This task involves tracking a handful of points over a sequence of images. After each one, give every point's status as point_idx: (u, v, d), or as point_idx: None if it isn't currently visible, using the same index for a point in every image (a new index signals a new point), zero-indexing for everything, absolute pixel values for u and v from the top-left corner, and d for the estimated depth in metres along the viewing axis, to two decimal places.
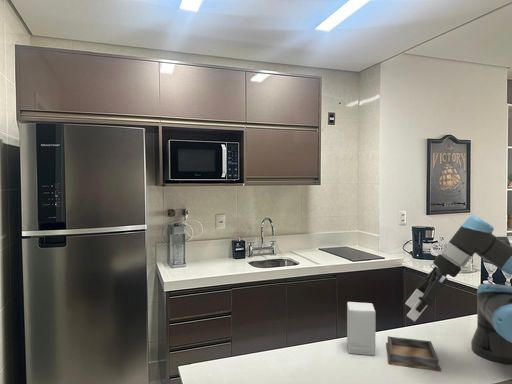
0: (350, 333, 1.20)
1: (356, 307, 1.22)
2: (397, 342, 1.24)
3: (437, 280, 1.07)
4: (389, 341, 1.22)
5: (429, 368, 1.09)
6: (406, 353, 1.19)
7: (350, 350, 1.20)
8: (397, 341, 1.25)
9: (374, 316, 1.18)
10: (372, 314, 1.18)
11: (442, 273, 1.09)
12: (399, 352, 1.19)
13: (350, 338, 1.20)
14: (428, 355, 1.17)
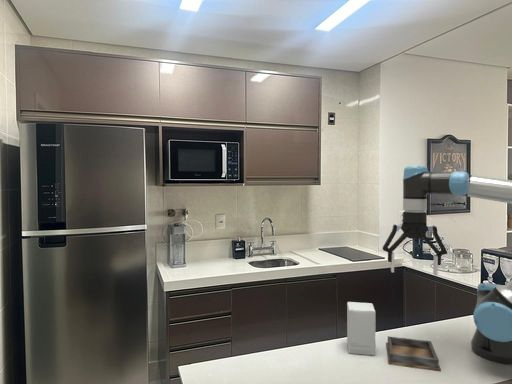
0: (350, 333, 1.20)
1: (356, 307, 1.22)
2: (397, 342, 1.24)
3: (392, 230, 1.25)
4: (389, 341, 1.22)
5: (429, 368, 1.09)
6: (406, 353, 1.19)
7: (350, 350, 1.20)
8: (397, 341, 1.25)
9: (374, 316, 1.18)
10: (372, 314, 1.18)
11: (402, 224, 1.23)
12: (399, 352, 1.19)
13: (350, 338, 1.20)
14: (428, 355, 1.17)
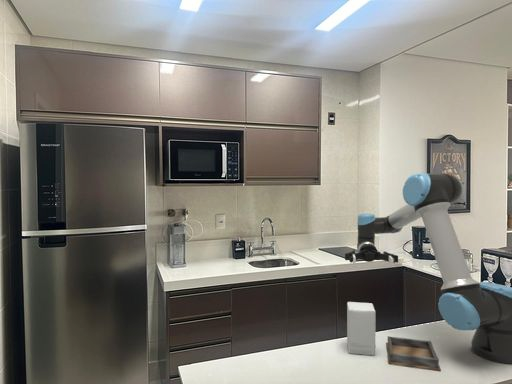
0: (350, 333, 1.20)
1: (356, 307, 1.22)
2: (397, 342, 1.24)
3: None
4: (389, 341, 1.22)
5: (429, 368, 1.09)
6: (406, 353, 1.19)
7: (350, 350, 1.20)
8: (397, 341, 1.25)
9: (374, 316, 1.18)
10: (372, 314, 1.18)
11: None
12: (399, 352, 1.19)
13: (350, 338, 1.20)
14: (428, 355, 1.17)
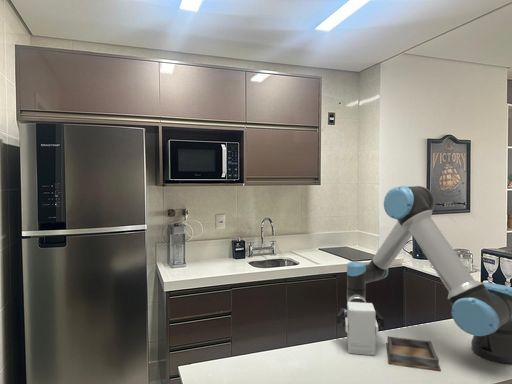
0: (350, 333, 1.20)
1: (356, 307, 1.22)
2: (397, 342, 1.24)
3: None
4: (389, 341, 1.22)
5: (429, 368, 1.09)
6: (406, 353, 1.19)
7: (350, 350, 1.20)
8: (397, 341, 1.25)
9: (374, 316, 1.18)
10: (372, 314, 1.18)
11: None
12: (399, 352, 1.19)
13: (350, 338, 1.20)
14: (428, 355, 1.17)
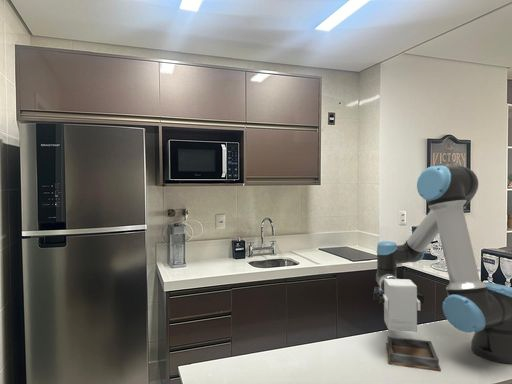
0: (390, 309, 1.15)
1: (395, 283, 1.18)
2: (397, 342, 1.24)
3: None
4: (389, 341, 1.22)
5: (429, 368, 1.09)
6: (406, 353, 1.19)
7: (390, 327, 1.16)
8: (397, 341, 1.25)
9: (415, 291, 1.14)
10: (414, 289, 1.14)
11: None
12: (399, 352, 1.19)
13: (390, 314, 1.15)
14: (428, 355, 1.17)
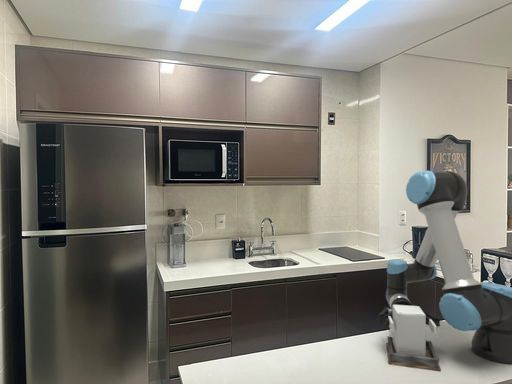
0: (398, 337, 1.15)
1: (404, 310, 1.17)
2: None
3: None
4: (389, 341, 1.22)
5: (429, 368, 1.09)
6: None
7: None
8: None
9: (424, 320, 1.13)
10: (422, 318, 1.13)
11: None
12: None
13: (398, 343, 1.15)
14: (428, 355, 1.17)
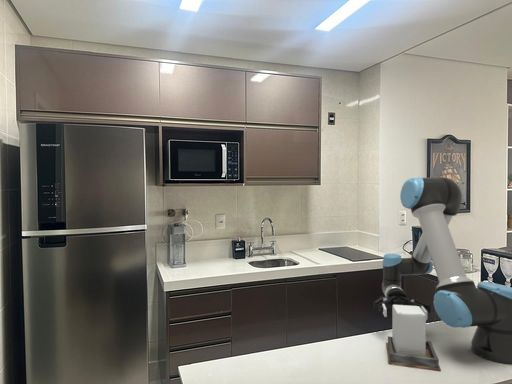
0: (398, 337, 1.15)
1: (403, 310, 1.17)
2: None
3: None
4: (389, 341, 1.22)
5: (429, 368, 1.09)
6: None
7: None
8: None
9: (424, 320, 1.13)
10: (422, 318, 1.13)
11: (387, 300, 1.44)
12: None
13: (398, 343, 1.15)
14: (428, 355, 1.17)
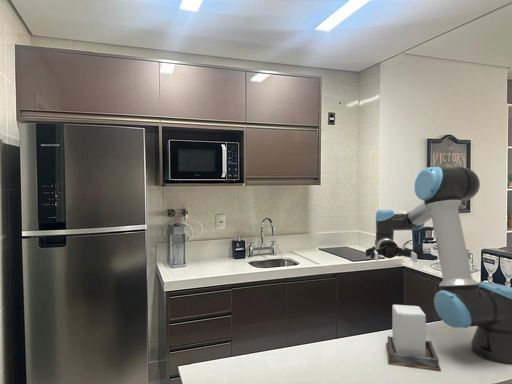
0: (398, 337, 1.15)
1: (403, 310, 1.17)
2: None
3: None
4: (389, 341, 1.22)
5: (429, 368, 1.09)
6: None
7: None
8: None
9: (424, 320, 1.13)
10: (422, 318, 1.13)
11: None
12: None
13: (398, 343, 1.15)
14: (428, 355, 1.17)
